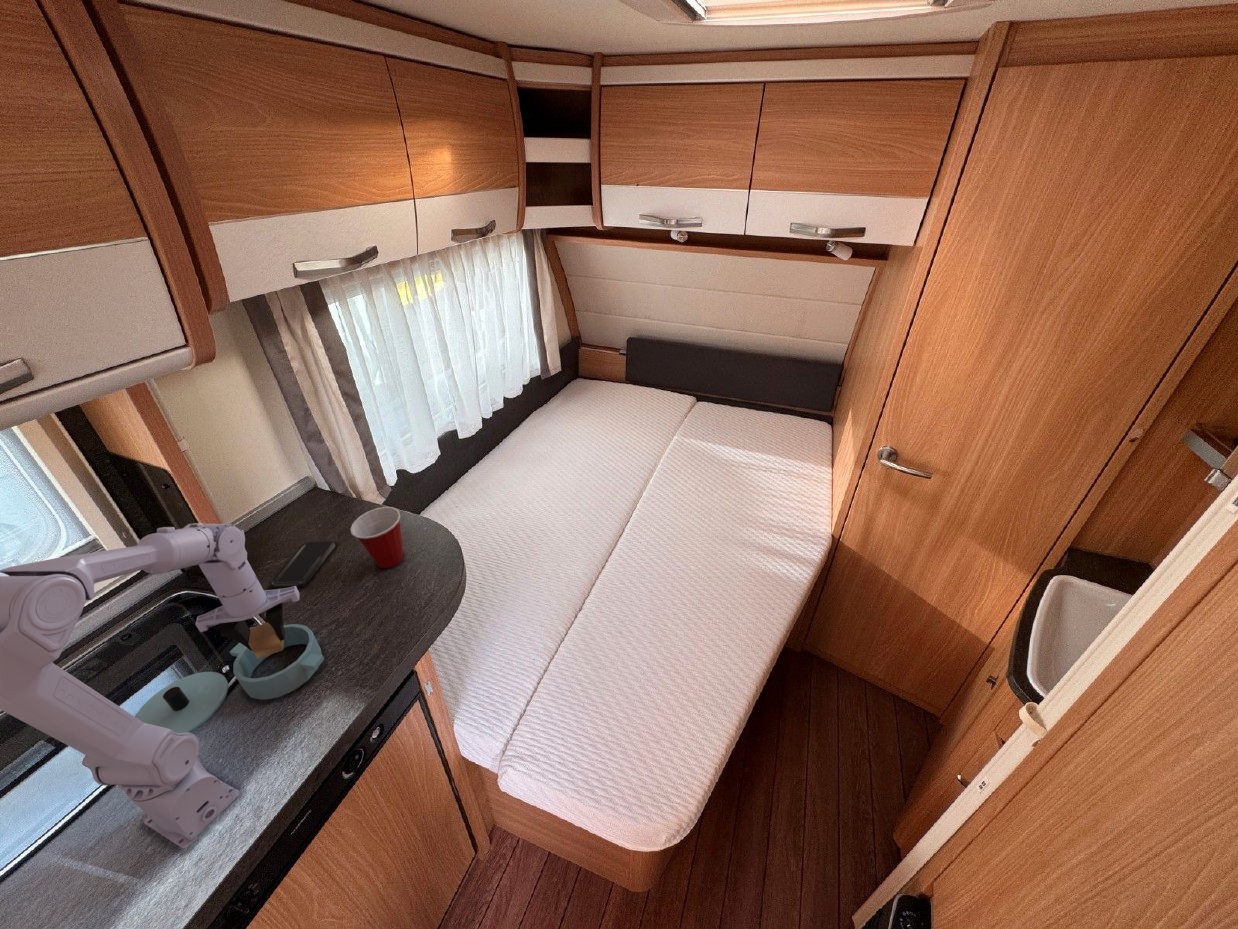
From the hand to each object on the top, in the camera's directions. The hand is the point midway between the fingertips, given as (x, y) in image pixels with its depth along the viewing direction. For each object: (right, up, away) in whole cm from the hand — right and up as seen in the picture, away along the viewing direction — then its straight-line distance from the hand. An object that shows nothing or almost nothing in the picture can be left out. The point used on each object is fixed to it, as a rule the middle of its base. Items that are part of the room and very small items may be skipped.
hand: (268, 641), depth 91 cm
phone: (-12, +8, +30) cm, 33 cm away
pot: (0, -7, +4) cm, 8 cm away
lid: (-13, -11, -2) cm, 17 cm away
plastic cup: (+8, +9, +30) cm, 32 cm away
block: (0, -1, +1) cm, 1 cm away
